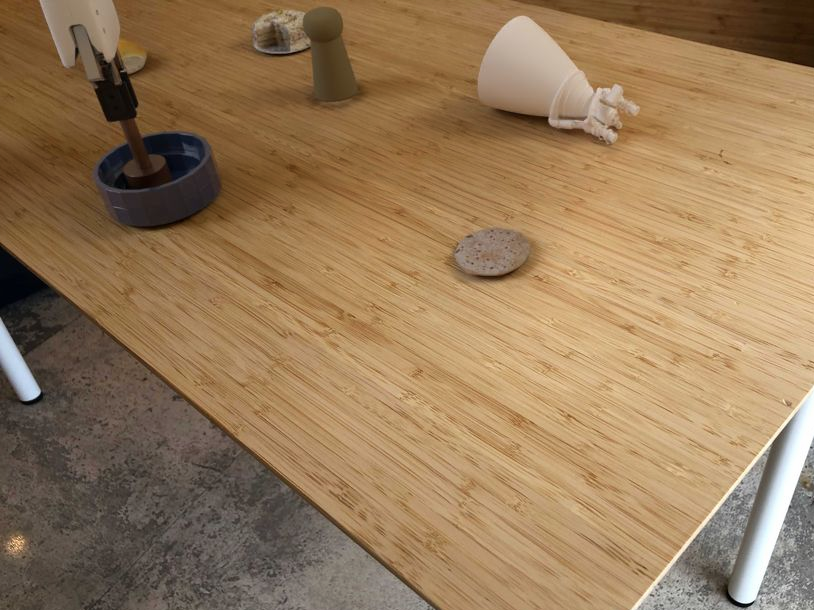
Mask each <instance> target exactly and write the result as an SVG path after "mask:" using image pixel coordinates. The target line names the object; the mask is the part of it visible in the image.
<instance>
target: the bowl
mask: <svg viewBox="0 0 814 610" xmlns="http://www.w3.org/2000/svg"><path fill="white" fill-rule="evenodd" d="M141 137H142V140H143V142H144V145H145V148H146V150H147V153H148V155H150V154H155V155H160V156H162V157H164V158H165V160H166V163H167V165H168V168H169V171H170V174H171V176H172V179H173V182H170V183H167V184H164V185H161V186H158V187H152V188H146V189H141V190H131V189H130V187H129V184H128V182H127V179H126V177H125V174H124V172H123V168H124V166H125V165H126V164H127V163H128V162H129V161H131V160H133V159H134V157H133V155H132V152H131V150H130V147H129V145H128V142H127V140H126V141H124V142H122V143H120V144H118V145H116V146H114V147H112V148H111V149H110V150H109V151H107V152H106V153H105V154H103V155H102V156H101V157H100V158H99V159H98V160H97V162H96V163H95V164H94V166H93V170H92V174H91V177H92V179H93V182H94V183H95V186H96V188H97V190H98V192H99V194H100V197H101V199H102V202H103V204H104V206H105V208H106V211H107V213H108V214H109V217H110V218H112V219H113V220H115V221H116V222H118V223H120V224H123V225H127V226H132V227H155V226H162V225H167V224H171V223H175V222H179V221H181V220H183V219H186V218H188V217H191V216H192V215H194V214H196V213H198V212H199V211H201V210H202V209H204V208H206V207H207V206H208V205H209V204H210V203H211V202H213V200H215V199H216V197H217V196H218V194H219V192H220V191H221V189H222V176H221V173H220V170H219V166H218V163H217V160H216V156H215V154H214V151H213V149H212V145H211V144H210V143H209V141H208V139H206V138H205V137H204V136H202V135H199V134H198V133H195V132H189V131H184V130H163V131H158V132H152V133H147V134H144V135H141Z"/></svg>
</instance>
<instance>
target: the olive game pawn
mask: <svg viewBox="0 0 814 610" xmlns="http://www.w3.org/2000/svg"><path fill="white" fill-rule="evenodd" d="M303 29H304V32H305V34H306V35H307V37H308V38H309V39H310V44H311V47H310V55H311V67H312V78H313V79H312V80H313V89H314V90H313V92H314V97H315V98H316V99H318V100H319V101H323V102H340V101H344V100H347V99H349V98H351V97H353V96H354V95H355V94H357V92H358V91H359V85H358V82H357V79H356V76H355V73H354V70H353V67H352V63H351V61H350V57H349V54H348V51H347V48H346V45H345V43H344V39H343V36H342V33H343V30H344V20H343V17H342V14H341V13H340V12H339V10H338V9H337V8H334V7H331V6H320V7H314V8H312V9H309V10H308V11H307V12H305V15H304V18H303Z"/></svg>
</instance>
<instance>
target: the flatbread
mask: <svg viewBox="0 0 814 610" xmlns="http://www.w3.org/2000/svg"><path fill="white" fill-rule="evenodd" d="M531 248H532V247H531V244H530V242H529V239H528V237H527V236H526V235H525V234H524V233H522V232H521V231H517V230H513V229H509V228H504V227H496V226H494V227H487V228H484V229H480V230H477V231H474V232H471V233H469V234H467V235H466V236H465V235H464V237H462V239H461V240H460V241H459V243H458V245H457V247H456V249H455V253H454V258H455V261H456V264H457V265H458V266H459V267H460V269H462V270H463V271H464V272H465V273H466V274H467V275H470V276H481V277H482V276H484V277H496V276H497V277H498V276H503V275H507V274H509V273H510V272H512V271H515V270H517V269H519V268H520V267H521V266H522V265H524V264H526V262H527V260H528V258H529V255H530V253H531Z"/></svg>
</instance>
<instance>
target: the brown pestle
mask: <svg viewBox="0 0 814 610" xmlns="http://www.w3.org/2000/svg"><path fill="white" fill-rule="evenodd" d="M100 67H101V68H102V67H107V68H108V65H101V66H100ZM108 69H109V68H108ZM118 122H119V124H120V127H121V129H122V133H123V134H124V137H125V139H126V141H127V142H128V145H129V147H130V150H131V152H132V155H133V157H134V159H133V160H131V161H129V162H128V163H127V164H126V165H125V166H124V168H123V172H124V174H125V177H126V179H127V182H128V184H129V187H130V189H131V190H141V189H146V188H152V187H158V186H161V185H164V184H167V183H170V182H173V179H172V176H171V174H170V171H169V168H168V165H167V163H166V160H165V158H164V157H162V156H160V155H155V154H150V155H148V153H147V150H146V148H145V145H144V142H143V140H142V137H141V136H142V135H141V132H140V129H139V127H138V124H137V121H136V118H133V119H127V120H122V121H118Z"/></svg>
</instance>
